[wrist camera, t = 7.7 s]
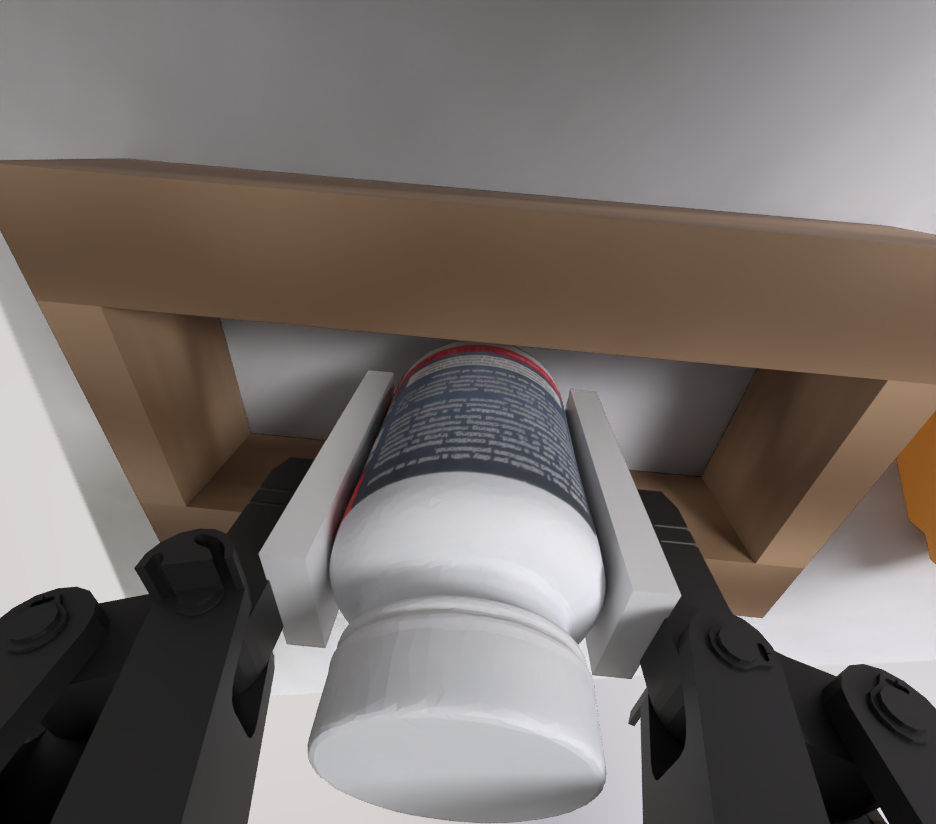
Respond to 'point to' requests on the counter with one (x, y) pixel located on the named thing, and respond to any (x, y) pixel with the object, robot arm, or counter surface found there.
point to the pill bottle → (466, 603)
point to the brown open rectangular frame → (482, 326)
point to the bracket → (921, 481)
